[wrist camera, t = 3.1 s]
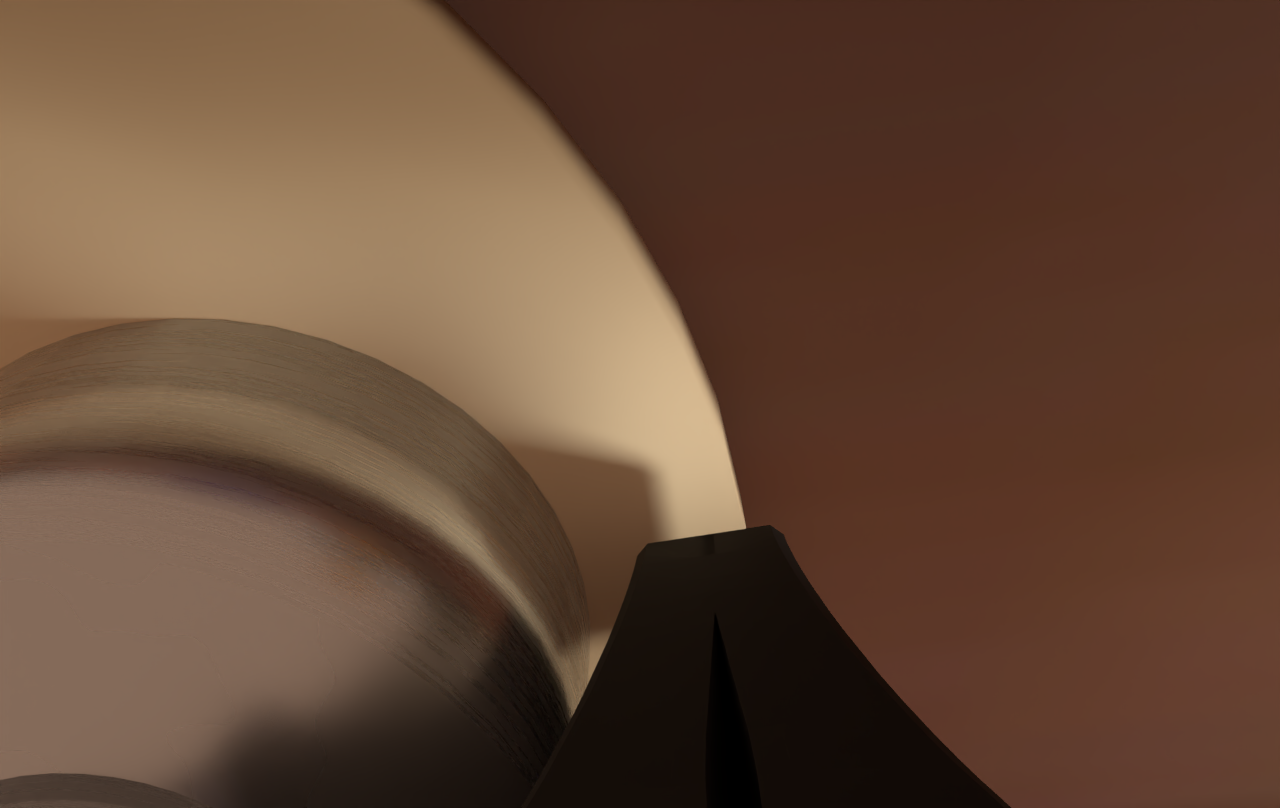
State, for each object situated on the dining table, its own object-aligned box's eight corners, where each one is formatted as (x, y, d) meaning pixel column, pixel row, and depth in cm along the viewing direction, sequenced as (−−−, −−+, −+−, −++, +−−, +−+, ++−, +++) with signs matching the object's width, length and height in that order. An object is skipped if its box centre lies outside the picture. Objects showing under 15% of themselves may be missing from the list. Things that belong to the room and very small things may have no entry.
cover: (642, 829, 13) (648, 1263, 9) (63, 904, 13) (-170, 1347, 9) (507, 258, 10) (425, 546, 6) (-246, 385, 10) (-788, 730, 6)
